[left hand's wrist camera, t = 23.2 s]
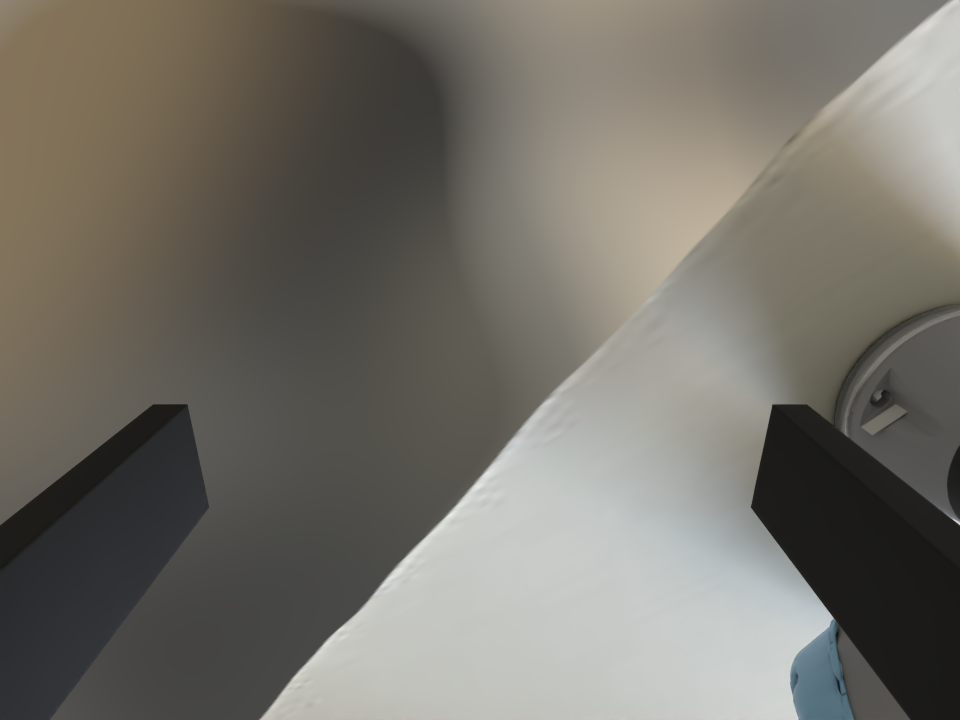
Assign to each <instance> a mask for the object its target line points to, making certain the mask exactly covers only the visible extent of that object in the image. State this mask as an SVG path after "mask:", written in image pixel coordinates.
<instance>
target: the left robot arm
mask: <svg viewBox="0 0 960 720" xmlns="http://www.w3.org/2000/svg"><path fill="white" fill-rule="evenodd" d="M208 508H209V505H208V500H207V495H206V490H205V486H204V481H203V476H202V471H201V467H200V462H199V457H198V452H197V448H196V443H195V438H194V433H193V429H192V424H191V419H190V414H189V410H188V405H186V404H182V405H180V404H172V405H171V404H167V405H165V404H164V405H163V404H162V405H161V404H159V405H158V404H157V405H156V404H155V405H152V406H151V407H149V408H148V409H147V410H146V411H144V412H143V413H142V414H141V415H139V416H138V417H137V418H136V419H134V420H133V421H132V422H130V423H129V424H128V425H127V426H125V427H124V428H123V429H122V430H120V431H119V432H118V433H117V434H115V435H114V436H113V437H112V438H110V439H109V440H108V441H107V442H105V443H104V444H103V445H101V446H100V447H99V448H98V449H96V450H95V451H94V452H93V453H91V454H90V455H89V456H88V457H86V458H85V459H84V460H82V461H81V462H80V463H79V464H77V465H76V466H75V467H74V468H72V469H71V470H70V471H68V472H67V473H66V474H65V475H63V476H62V477H61V478H60V479H58V480H57V481H56V482H55V483H53V484H52V485H51V486H49V487H48V488H47V489H46V490H44V491H43V492H42V493H41V494H39V495H38V496H37V497H36V498H34V499H33V500H32V501H30V502H29V503H28V504H27V505H25V506H24V507H23V508H22V509H20V510H19V511H18V512H17V513H15V514H14V515H13V516H12V517H10V518H9V519H8V520H7V521H5V522H4V523H3V524H1V525H0V720H50V719H51V717H52V716H53V715H54V713H55V712H56V711H57V709H58V708H59V707H60V705H61V704H62V703H63V701H64V700H65V699H66V697H67V696H68V695H69V693H70V692H71V691H72V689H73V688H74V687H75V685H76V684H77V683H78V681H79V680H80V679H81V677H82V676H83V675H84V673H85V672H86V671H87V669H88V668H89V667H90V665H91V664H92V663H93V661H94V660H95V659H96V657H97V656H98V655H99V653H100V652H101V651H102V649H103V648H104V647H105V645H106V644H107V643H108V641H109V640H110V639H111V637H112V636H113V635H114V633H115V632H116V631H117V629H118V628H119V627H120V625H121V624H122V623H123V621H124V620H125V619H126V617H127V616H128V615H129V613H130V612H131V611H132V609H133V608H134V607H135V605H136V604H137V603H138V601H139V600H140V599H141V597H142V596H143V595H144V593H145V592H146V591H147V589H148V588H149V587H150V585H151V584H152V583H153V581H154V580H155V579H156V577H157V576H158V575H159V573H160V572H161V571H162V569H163V568H164V567H165V565H166V564H167V563H168V561H169V560H170V559H171V557H172V556H173V555H174V553H175V552H176V551H177V549H178V548H179V547H180V545H181V544H182V543H183V541H184V540H185V539H186V537H187V536H188V535H189V533H190V532H191V531H192V529H193V528H194V527H195V525H196V524H197V523H198V521H199V520H200V519H201V517H202V516H203V515H204V513H205V512H206V511H207V509H208ZM751 508H752V509H753V511H754V512H755V513H756V515H757V516H758V517H759V519H760V520H761V521H762V523H763V524H764V525H765V527H766V528H767V529H768V531H769V532H770V533H771V535H772V536H773V537H774V539H775V540H776V541H777V543H778V544H779V545H780V547H781V548H782V549H783V551H784V552H785V553H786V555H787V556H788V557H789V559H790V560H791V561H792V563H793V564H794V565H795V567H796V568H797V569H798V571H799V572H800V573H801V575H802V576H803V577H804V579H805V580H806V581H807V583H808V584H809V585H810V587H811V588H812V589H813V591H814V592H815V593H816V595H817V596H818V597H819V599H820V600H821V601H822V603H823V604H824V605H825V607H826V608H827V609H828V611H829V612H830V613H831V615H832V616H833V617H834V619H833V620H832V621H831V624H830V627H829V628H828V629H826V630H825V631H824V632H823V633H822V634H820V635H819V636H818V637H817V638H816V639H814V640H813V641H812V642H811V643H809V644H808V645H807V646H806V647H805V648H803V649H802V650H801V651H800V652H799V653H798V654H797V656H796V657H795V659H794V661H793V664H792V667H791V674H790V678H791V682H790V684H791V689H792V694H793V702H794V705H795V709H796V712H797V715H798V718H799V720H960V525H959V524H957V523H956V522H955V521H954V520H952V519H955V520H958V521H960V304H956V305H950V306H945V307H940V308H937V309H934V310H930V311H927V312H925V313H922V314H920V315H917V316H915V317H913V318H911V319H909V320H907V321H905V322H904V323H902V324H900V325H898V326H897V327H895V328H894V329H892V330H891V331H889V332H888V333H887V334H885V335H884V336H883V337H881V338H880V339H879V340H878V341H877V342H876V343H875V344H873V345H872V346H871V347H870V348H869V349H868V350H867V351H866V352H865V354H864V355H863V356H862V357H861V358H860V359H859V361H858V362H857V363H856V365H855V366H854V368H853V369H852V371H851V372H850V374H849V375H848V377H847V379H846V381H845V383H844V385H843V387H842V390H841V392H840V395H839V398H838V401H837V406H836V411H835V426H833V425H832V424H831V423H830V422H828V421H827V420H826V419H824V418H823V417H822V416H821V415H819V414H818V413H817V412H816V411H814V410H813V409H812V408H811V407H809V406H808V405H807V404H773V405H772V410H771V414H770V419H769V424H768V429H767V433H766V438H765V443H764V448H763V452H762V457H761V462H760V467H759V471H758V476H757V481H756V485H755V490H754V495H753V500H752V504H751ZM951 518H952V519H951Z"/></svg>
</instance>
